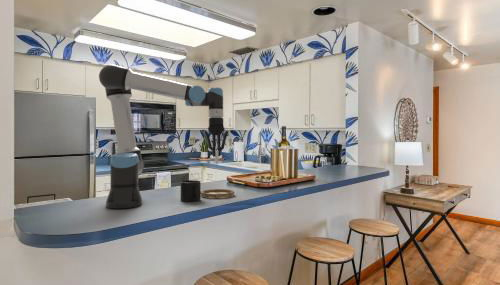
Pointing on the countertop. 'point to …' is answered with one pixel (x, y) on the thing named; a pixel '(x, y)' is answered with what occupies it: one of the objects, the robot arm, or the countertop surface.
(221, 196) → the tray
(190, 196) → the mug
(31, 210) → the countertop surface
